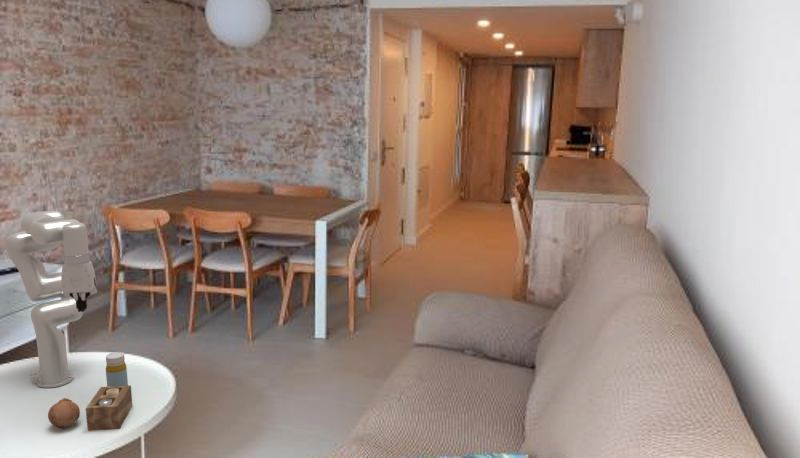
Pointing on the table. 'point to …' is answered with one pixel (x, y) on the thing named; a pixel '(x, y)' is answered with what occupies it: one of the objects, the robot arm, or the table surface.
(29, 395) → the table surface
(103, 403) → the peg metal
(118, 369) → the bottle
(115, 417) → the socket block
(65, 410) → the onion
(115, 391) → the peg birch
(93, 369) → the table surface
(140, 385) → the table surface
